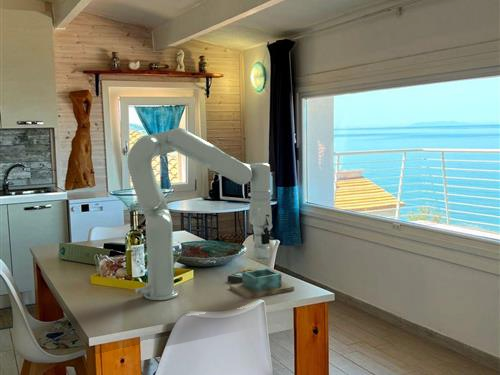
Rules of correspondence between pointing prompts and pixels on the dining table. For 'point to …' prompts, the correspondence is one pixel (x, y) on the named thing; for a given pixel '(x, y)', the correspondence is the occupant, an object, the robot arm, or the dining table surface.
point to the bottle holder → (261, 284)
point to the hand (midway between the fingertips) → (261, 242)
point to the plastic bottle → (259, 243)
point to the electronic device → (238, 276)
